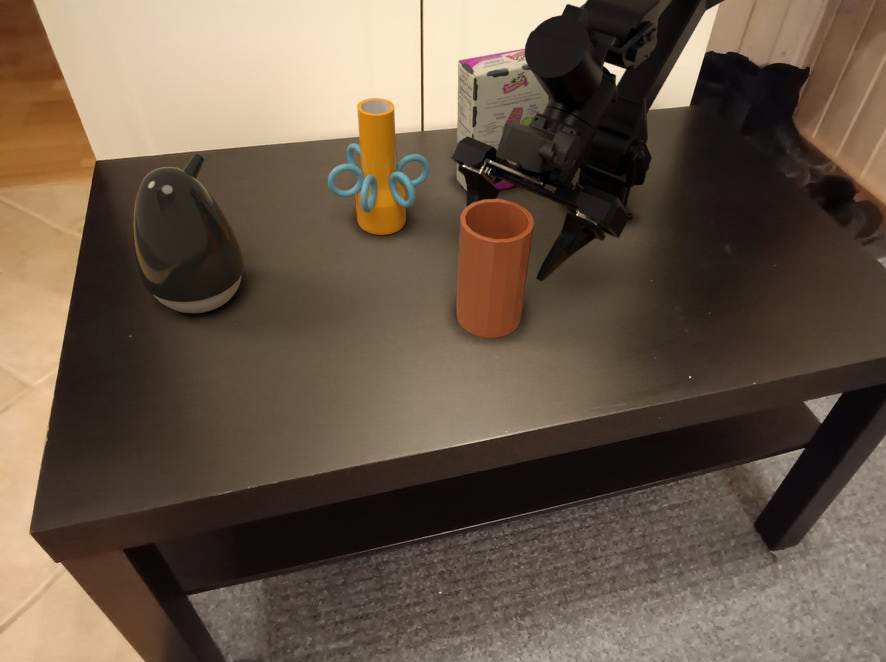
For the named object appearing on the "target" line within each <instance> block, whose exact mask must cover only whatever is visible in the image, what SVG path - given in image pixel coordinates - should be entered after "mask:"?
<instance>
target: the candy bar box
mask: <svg viewBox="0 0 886 662" xmlns="http://www.w3.org/2000/svg"><path fill="white" fill-rule="evenodd" d="M457 63H458V65H457V125H456V127H457V128H456V144H457V143H458V142H459V141H461V140H462V139H464V138H465V137H467V136H468V137H471V138H473V139H476V140H478V141H480V142H483V143H485V144H488V145H490V146H493V147H494V148H495V149H496V150H498V147H499V143H500V140H501V137H502V133H503V130H504V127H505V123H514V124H522V125H526V126H529V124H530V123H531V121H532V119H533V117H534V116H536V114H537V113H540V114H543V112H544V110H545V108H546V106H547V104H548V102H549V100H550V97H549V96H548V95H547V94H546V92H545V91H544V89H543V88H542V86H541V85H540V83H539V82H538V80H537V79H536V77H535V76H534V74H533V73H532V71H531V70H530V68H529V67H528V64H527V62H526V59H525V48H520V49H515V50H509V51H504V52H496V53H491V54H486V55H481V56H475V57H470V58H464V59H459V60H458V62H457ZM507 161H508V163H511V164H513V165H516V166H518V164H517V163H515V162H513V161H510V160H507ZM458 165H459V164H457V163H456V181H457V183H458V184H459V185H460V187H462V188H463V189H464V190H465V192H466V193H467V186H466V181H465V177H464V175H462V174H461V173H460V172H459V171H458ZM523 180H524V181H526V182H529V181H527V180H525V179H523ZM529 183H531V184H532V182H529ZM492 185H493V184H492ZM493 186H494V187H496V188H497V189H498V190H499V191H503V190H506V189H511V188H515V187H517V186H516V185H514V184H511V183H509V182H506V181H504V180H503V181H501V182H499V183H496V184H494V185H493Z"/></svg>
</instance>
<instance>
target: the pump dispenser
mask: <svg viewBox="0 0 886 662" xmlns="http://www.w3.org/2000/svg"><path fill="white" fill-rule="evenodd" d="M204 162H205V158H204V156H203V155H202V154H201V153H193V155H192V156H191V158H190V159H189V160H188V162H187V163H186V165H185V166H184V168H183V169H181V168H179V167H176V166H175V167H174V166H163V167H158V168H155V169H153V170H151V171H150V172H148V173H147V174H146V175H145V176H144V178H143V179H142V180H141V182H140V184H139V187H138V189H137V192H136V195H135V200H134V206H133V218H132V219H133V221H132V231H133V232H132V234H133V235H132V236H133V248H134V256H135V262H136V266H137V271H138V275H139V278H140V280H141V284H142V285H143V287H144V288H145V289H146V290H147V292H149V293H150V294H151V295H153V297H154V298H155V299H156V300H158V301H159V302H160V303H161V304H162V305H163V306H165V307H167V308H169V309H171V310H172V311H177V312H180V313H185V314H202V313H207V312H210V311H214V310H217V309H218V308H221V307H222V306H224V305H225V304H226V303H228V302H229V301H230V300H231V299H232V298H233V296H235V294H236V293H237V291H238V289H239V287H240V284H241V281H242V276H243V273H244V270H245V259H244V255H243V251H242V249H241V246H240V242H239V241H238V238H237V236H236V234H235V231H234V230H233V227H232V225H231V224H230V221H229V220H228V218H227V217H226V215H225V213H224V212H223V210H222V208H221V207H220V205H219V204H218V202H217V201H216V199H215V198H214V197H213V195H212V194H211V193H210V192H209V190H208V189H207V188H206V187H205V186H204V185H203V184H202V182H200V181H199V180H198V179H197V178H198V176H199V174H200V171H201V169H202V167H203V164H204Z"/></svg>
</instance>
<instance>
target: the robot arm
mask: <svg viewBox="0 0 886 662" xmlns="http://www.w3.org/2000/svg"><path fill="white" fill-rule="evenodd" d="M724 1H725V0H586V1H585V2H584V4H582V5H581V6H577V5H575V4H570V3H566V5H565V7H564V9H563V11H562V13H561V14H560V15H555V16H551V17H549V18H547V19H545V20H543V21H541V23H539V24H538V25H537V26H536V27H535V28H534V29H533V30H531V31H530V33H529V35H528V36H527V39H526V41H525V45H524V49H525V59H526V62H527V64H528V67H529V68H530V70H531V71H532V73H533V74H534V76H535V77H536V79H537V80H538V82H539V83H540V85H541V86H542V88H543V89H544V91H545V92H546V94H547V95H548V96H549V97H550V100H549V102H548V104H547V106H546V108H545V110H544V112H543V114H540V113H537V114H536V116H534V117H533V119H532V121H531V123H530V124H529V126H526V125H522V124H514V123H505V127H504V130H503V133H502V137H501V140H500V143H499V147H498V150H496V149H495V148H494V147H493V146H490V145H488V144H485V143H483V142H480V141H478V140H476V139H473V138H471V137H468V136H467V137H465V138H464V139H462V140H461V141H459V142H458V143H457V142H456V144H455V146H454V148H453V150H452V151H451V154H450V156H449V158H450V159H451V160H453V161H454V162H455V163H456V165H457V164H459V165H458V171H459V172H460V173H461V174H462V175H464V177H465V181H466V186H467V192H466V206H465V208H466V207H467V206H469V205H470V204H472V203H474V202H477V201H481V200H485V199H498V196H499V194H500V191H501V190H500V191H499V190H498V189H497V188H496V187H494V186H493V185H494V184H496V183H499V182H501V181H503V180H504V181H506V182H509V183H511V184H514V185H516V186H515V187H518V188H521V189H522V190H523V189H524V190H526V191H528V192H530V193H532V194H535V195H537V196H538V197H539V196H540V197H542V198H544V199H547V200H549V201H551V202H553V203H556V204H558V205H561V206H563V207H566V208H567V209H568V210H570V211H566V214H565V217H564V220H563V225H562V227H561V228H562V229H561V230H560V232H559V233H558V235H557V238H556V239H555V241H554V243H553V244H552V246H551V248H550V250H549V252H548V253H547V254H546V257H545V258H544V260H543V261H542V263H541V266H540V268H539V269H538V273H537V275H536V280H537V281H539V282H543V281H545V280H546V279H547V278H548V277H549V276H550V275H551V274H552V273H554V272H555V271H556V270H557V269H558V268H559V267H560V266H562V265H563V264H564V263H565V262H566V261H567V260H568V259H569V258H570V257H572V256H573V255H574V254H576V252H578V251H580V250H581V249H582V248H584V247H585V246H587V245H588V244H590V243H591V242H593V241H594V240H599V241H604V240H605V238H606V235H605V234H607V235H609V236H612V237H614V238H617V239H620V237H621V235H622V234H623V231H624V230H625V227H626V225H627V224H628V223H627V222H628V221H629V220H632V219H634V214H633V213H632V212H631V211H630V210H629V209H628V208H627V204H628V202H629V196H630V193H631V189H632V188H633V187H634V186H635V187H636V186H642V185H644V183H645V180H646V176H647V172H648V171H649V169H650V164H651V161H652V159H653V158H652V155H651V152H650V150H649V148H648V145H647V142H648V139H649V133H648V130H649V129H648V113H649V111H650V109H651V108H652V106H653V104H654V102H655V100H656V99H657V97H658V95H659V93H660V92H661V90H662V88H663V86H664V85H665V83H666V81H667V80H668V78H669V76H670V74H671V72H672V71H673V69H674V67H675V65H676V63H677V62H678V60H679V59H680V57H681V55H682V53H683V51H684V50H685V48H686V46H687V44H688V43H689V41H690V39H691V37H692V35H693V34H694V32H695V30H696V29H697V27H698V25H699V24H700V22H701V20H702V18H703V16H704V15H705V13H706V12H707V11H709V10H710V9H712V8H714V7H716V6H717V5H719V4H721V3H723V2H724ZM604 64H609V65H612V66H615V67H618V68H621V69H623V70H624V71H623V74H622V76H621V77H620V79H619V81H618V83H617V74H615V73H612V72H611V71H610V70H609V69H608V68H607V67H606V66H604ZM507 160H510V161H513V162H515V163H517V164H518V166H516V165H513V164H511V163H508V161H507ZM578 172H579V173H578ZM577 173H578V176H577V177H578V178H577V181H576V182H575V183H573V181H574V178H575V176H576V174H577ZM523 179H525V180H527V181H529V182H531V183H529V182H526V181H524V180H523ZM492 184H493V185H492ZM546 185H547V186H548V187H551V188H554V189H555V190H554V191H553V190H552V189H549V188H546Z"/></svg>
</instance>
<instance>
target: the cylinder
mask: <svg viewBox="0 0 886 662" xmlns="http://www.w3.org/2000/svg"><path fill="white" fill-rule="evenodd" d="M356 109H357V110H356V111H357V123H358V125H357V126H358V138H359V144H358V143H355V142H353V143H350V144H349V145H348V146H347V147H346V160H347V163H342V164H338V165H337V166H335V167H333V169H332V170H331V171H330V172H329V174H328V176H327V186H328V187H327V188H328V189H329V191H330V192H331V193H332V194H334V195H335V196H337V197H338V198H350V197H353V196H354V198H355V208H356V209H355V210H356V220H357V224H358V226H359V227H360V228H361V229H362V230H363V231H364V232H366V233H369V234H372V235H377V236H378V235H379V236H386V235H392V234H395V233H397V232H399V231H401V230H402V229H403V228H404V226H405V225H406V222H407V208H411V207H412V206H414V204H415V203H416V199H417V198H416V197H417V195H416V194H417V193H416V189H415V187H417V186H420V185H421V184H423V183H424V182H425V181H426V180H427V178H428V177H429V174H430V170H431V169H430V168H431V167H430V163H429V161H428V159H427V158H426V157H424V156H423V155H421V154H419V153H410V154H407V155H405V156H403V157H402V158H401V159H400V160H399V161H398V162H397V144H396V141H397V140H396V119H395V118H396V117H395V115H396V113H395V105H394V103H393V102H392V101H391V100H388V99H386V98H381V97H371V98H370V97H369V98H366V99H363V100H360V101H359V102H358V103H357V105H356ZM354 151H355V152H357V153H358V154H359V156H360V167H361V168H360V167H359V166H357V164H356V162H355V159H354ZM411 162H419V164H421V165H422V172H421V174H420V176H418V177H417V178H415V179H410V177H409V176H408V175H407V174H406V173H404V172H403V169H404V167H405V166H406V165H407V164H408V163H411ZM347 171H348V172H352V173H353V174H354V175H355V176H356V178H357V181H356V183H355V185H354V186H353V187H352V188H350V189H346V190H343V189H340V188H338V187H337V186H336V183H335V181H336V178H337V177H338V175H339V174H341V173H343V172H347ZM404 187H405V188H406V189H407V192H408V193H407V194H408V199H406V198H407V197H406V195H407V194H406V191H405V188H404Z"/></svg>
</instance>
